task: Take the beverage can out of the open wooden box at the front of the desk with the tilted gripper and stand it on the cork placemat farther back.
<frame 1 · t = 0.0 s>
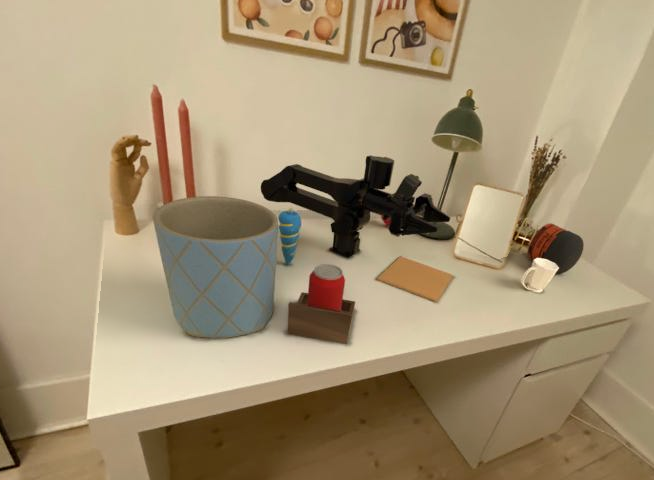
hand: (443, 224, 89), 17 cm above the table, tool horizontal, fingers open, 9 cm apart
open wooden box: (322, 321, 77), on the table
ornament: (288, 265, 94), on the table
beverage can: (322, 322, 77), resting in open wooden box
placemat: (416, 278, 100), on the table
oil filter: (548, 268, 121), on the table
planter: (226, 313, 74), on the table
cup: (530, 289, 107), on the table
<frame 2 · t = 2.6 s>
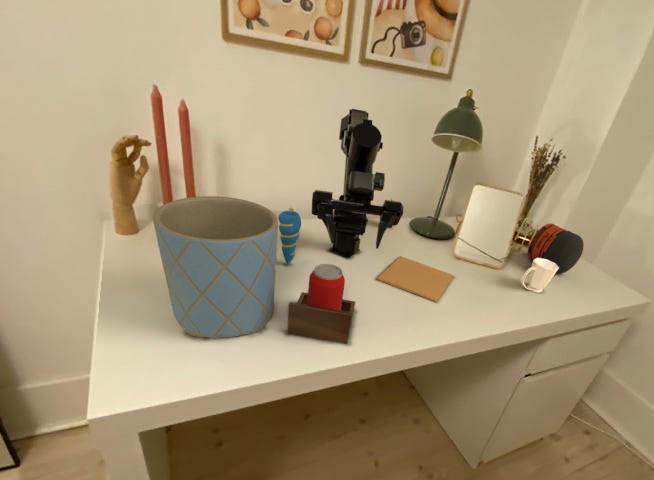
hand: (355, 245, 76), 14 cm above the table, tool tilted 50°, fingers open, 9 cm apart
nothing on the table moved.
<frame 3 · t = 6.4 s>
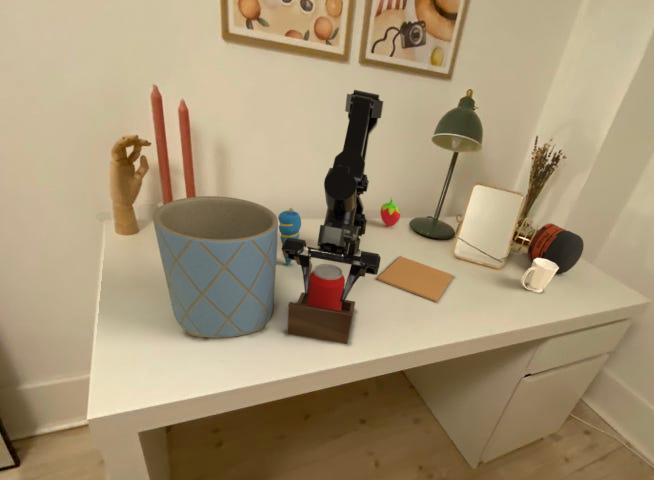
hand: (324, 298, 72), 7 cm above the table, tool tilted 45°, fingers closed on beverage can, 7 cm apart
beverage can: (322, 322, 77), resting in open wooden box, touching gripper
everything else where it was.
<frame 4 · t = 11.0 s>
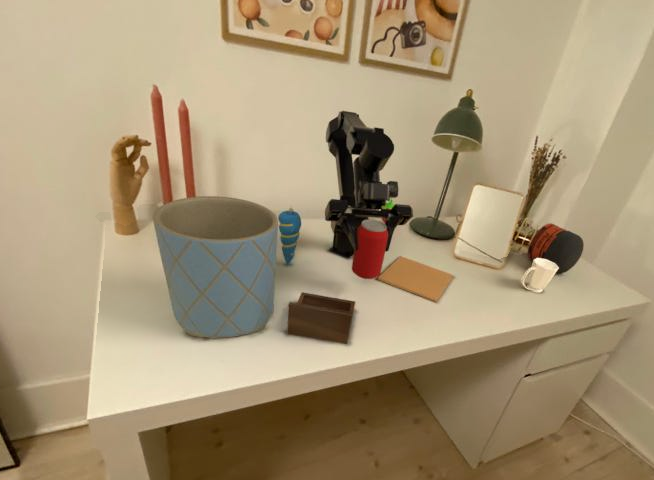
hand: (371, 250, 81), 12 cm above the table, tool tilted 45°, fingers closed on beverage can, 7 cm apart
beverage can: (365, 274, 86), point 5 cm above the table, touching gripper
everything else where it was.
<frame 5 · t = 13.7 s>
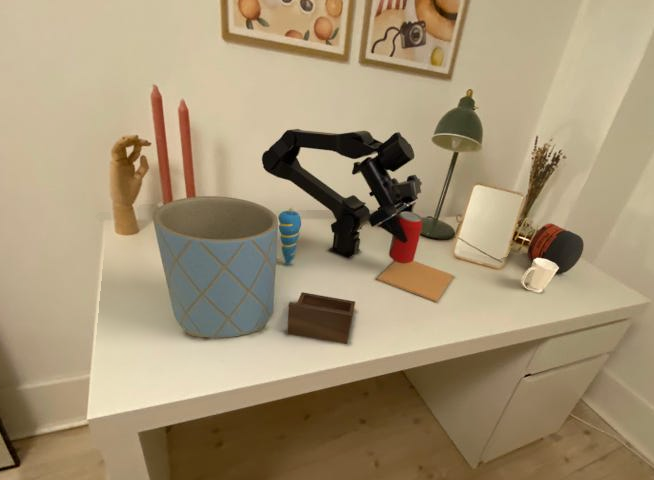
hand: (410, 237, 95), 10 cm above the table, tool tilted 45°, fingers closed on beverage can, 7 cm apart
beverage can: (400, 259, 99), point 3 cm above the table, touching gripper
everything else where it was.
when the fingers open (7 cm above the table, at t = 16.0 s): beverage can stays where it is, resting on placemat.
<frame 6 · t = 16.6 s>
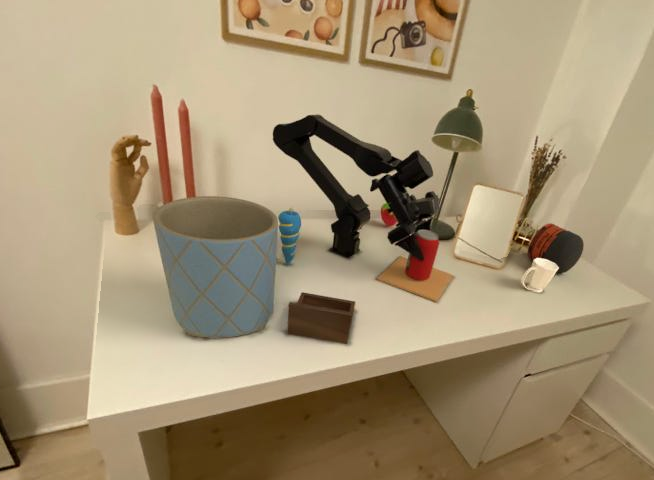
hand: (428, 253, 95), 8 cm above the table, tool tilted 45°, fingers open, 9 cm apart
beverage can: (416, 276, 100), resting on placemat
everything else where it was.
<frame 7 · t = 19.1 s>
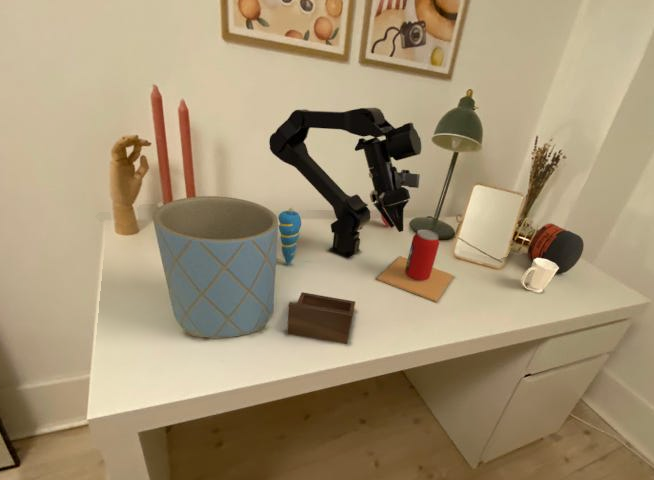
hand: (396, 229, 95), 11 cm above the table, tool tilted 30°, fingers open, 9 cm apart
nothing on the table moved.
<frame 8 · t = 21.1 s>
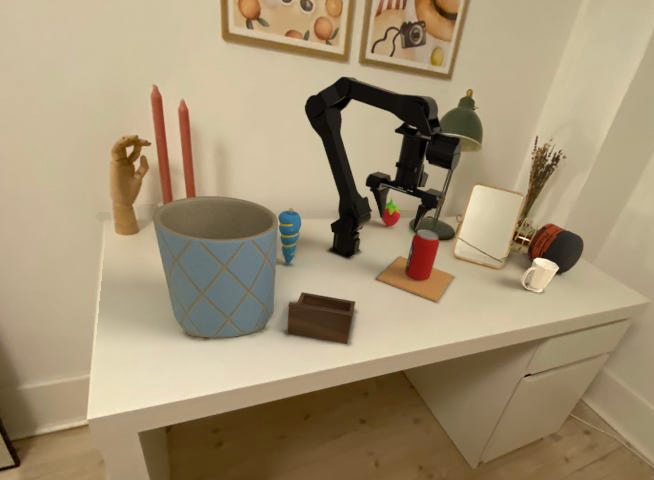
hand: (398, 223, 94), 13 cm above the table, tool pointing down, fingers open, 9 cm apart
nothing on the table moved.
at the end: beverage can inside the target area on the placemat (0.1 cm from its centre), point 0.4 cm above the placemat's base; beverage can tilted 0°; beverage can touching placemat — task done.
